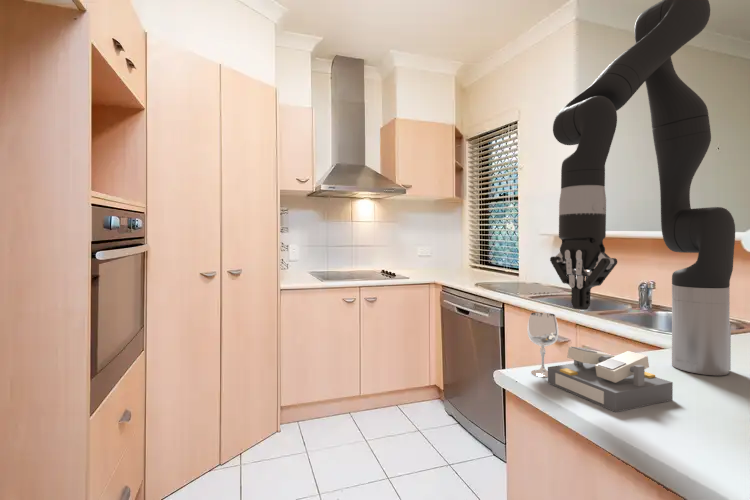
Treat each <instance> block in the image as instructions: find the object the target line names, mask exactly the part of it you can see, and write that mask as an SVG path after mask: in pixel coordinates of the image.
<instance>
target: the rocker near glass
mask: <svg viewBox="0 0 750 500" xmlns="http://www.w3.org/2000/svg"><path fill="white" fill-rule="evenodd" d="M605 355H608V356H611V358H613V357H615V356H616V355H613V354H610V353H607V352H605V351H600V350H594V349H593V350H592V349H587V348H584V347H581V348H578V346H568V349H567V356H566V357H567V359H571V360H573V361H574V360H576V361H579V362H582V363H589V364H599V363H601V356H605Z"/></svg>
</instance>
